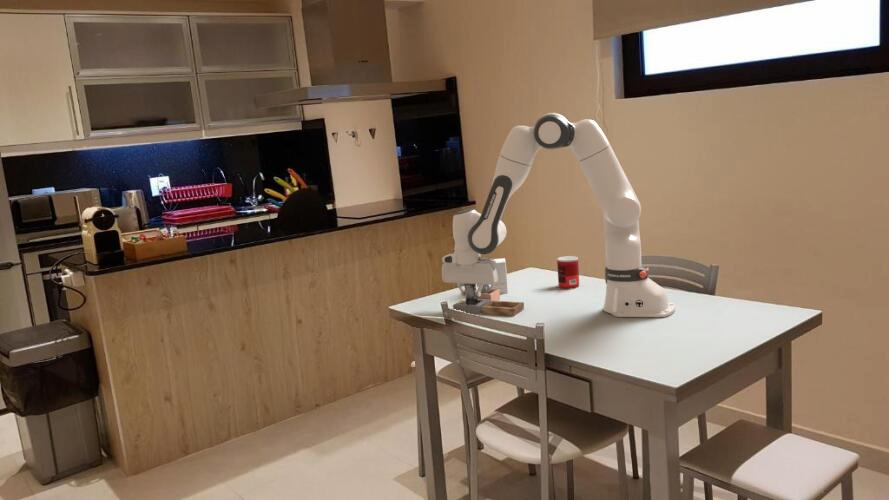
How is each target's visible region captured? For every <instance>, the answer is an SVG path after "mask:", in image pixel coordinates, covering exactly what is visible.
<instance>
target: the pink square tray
mask: <svg viewBox="0 0 889 500" xmlns="http://www.w3.org/2000/svg"><path fill="white" fill-rule="evenodd" d="M500 295H501V294H500V292H499V289H492V293H490V294H485V293H481V296H479V297H477V299H490V301H501V296H500Z"/></svg>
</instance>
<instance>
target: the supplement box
mask: <svg viewBox="0 0 889 500" xmlns="http://www.w3.org/2000/svg"><path fill="white" fill-rule="evenodd" d="M493 259H494V260H495V262H496V271H497V276H498V281H497V282H496V283H495V284H493V285H491V288H492V289H499V292H500V295H505V294H508V293H509V292H508V291H509V286H508V273H507V264H506V258H505V257H504V258H493ZM492 261H493V260H492Z"/></svg>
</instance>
